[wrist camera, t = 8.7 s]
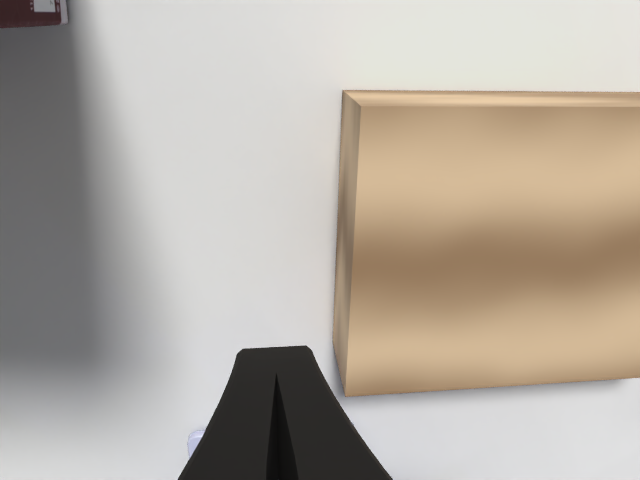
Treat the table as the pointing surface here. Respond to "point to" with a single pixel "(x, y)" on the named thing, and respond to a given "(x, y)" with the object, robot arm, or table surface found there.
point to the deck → (487, 239)
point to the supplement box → (32, 13)
